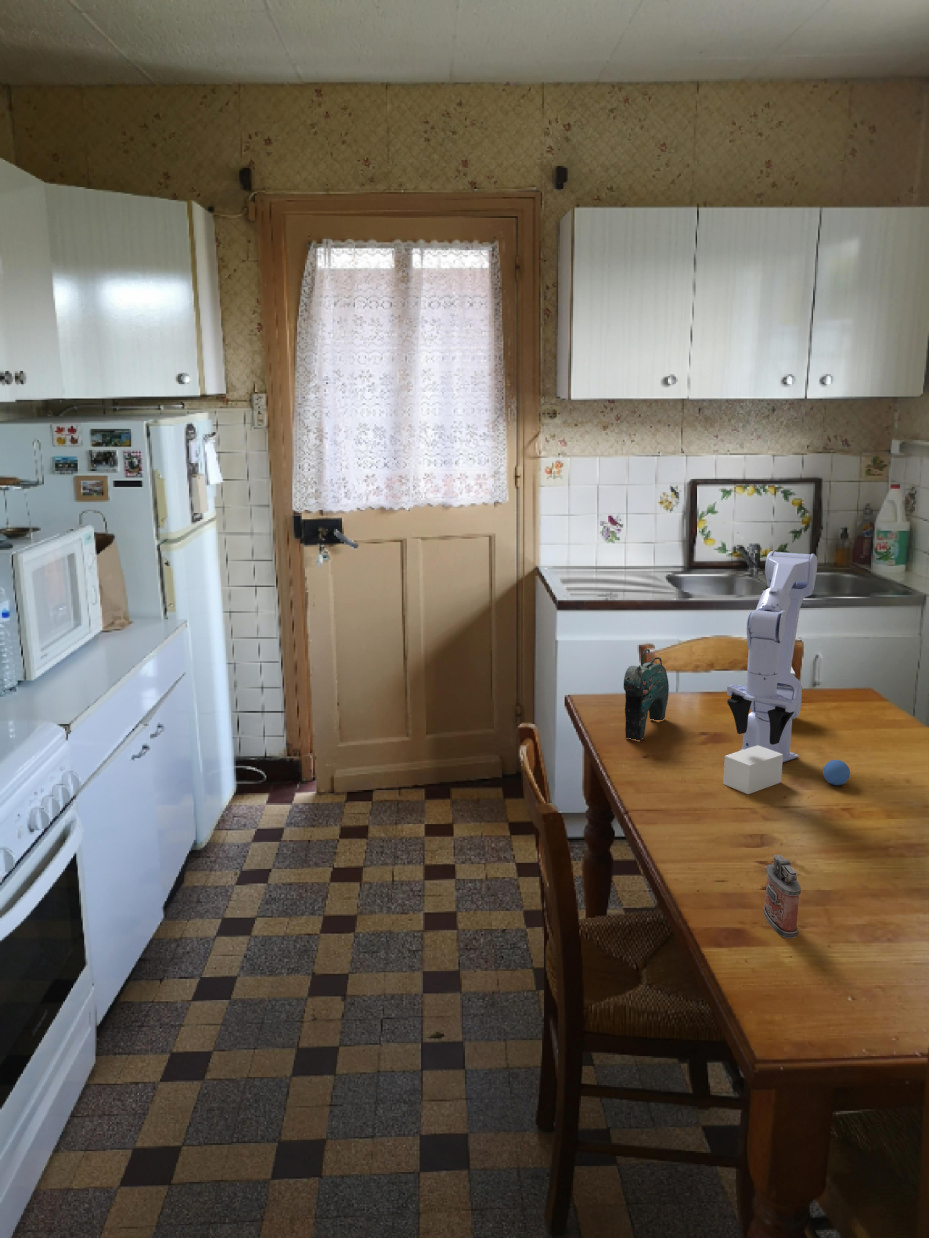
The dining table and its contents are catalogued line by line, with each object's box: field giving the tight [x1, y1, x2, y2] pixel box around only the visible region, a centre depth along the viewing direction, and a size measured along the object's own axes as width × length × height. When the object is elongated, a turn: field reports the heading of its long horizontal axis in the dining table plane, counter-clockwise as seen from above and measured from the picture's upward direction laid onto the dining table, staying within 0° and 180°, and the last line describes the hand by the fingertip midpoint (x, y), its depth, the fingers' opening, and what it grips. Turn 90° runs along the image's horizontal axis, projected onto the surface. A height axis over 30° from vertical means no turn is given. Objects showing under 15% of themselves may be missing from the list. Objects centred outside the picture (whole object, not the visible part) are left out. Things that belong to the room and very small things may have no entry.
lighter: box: [762, 854, 802, 939], centre depth 139 cm, size 8×3×10 cm, turn 5°
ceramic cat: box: [623, 648, 670, 741], centre depth 219 cm, size 20×6×20 cm, turn 148°
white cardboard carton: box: [722, 745, 784, 795], centre depth 190 cm, size 10×6×6 cm, turn 124°
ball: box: [822, 759, 851, 786], centre depth 189 cm, size 5×5×5 cm
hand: (757, 738), depth 187 cm, fingers open, 7 cm apart
